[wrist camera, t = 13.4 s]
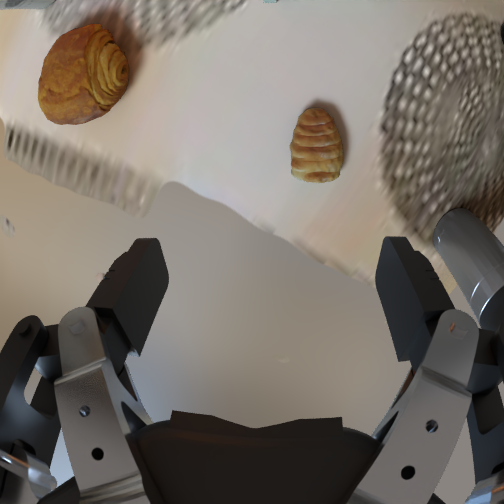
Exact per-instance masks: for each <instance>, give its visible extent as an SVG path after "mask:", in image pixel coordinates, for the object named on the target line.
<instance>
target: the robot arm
mask: <svg viewBox="0 0 504 504" xmlns="http://www.w3.org/2000/svg"><path fill="white" fill-rule="evenodd" d="M433 243H434V246H435V248H436V250H437V251H438V253H439V254H440V256H441V258H442V259H443V261H444V262H445V264H446V266H447V267H448V269H449V270H450V272H451V274H452V275H453V277H454V279H455V280H456V282H457V284H458V285H459V287H460V289H461V291H462V292H463V294H464V296H465V298H466V300H467V301H468V303H469V305H470V306H471V309H472V311H473V312H474V314H475V316H476V318H477V320H478V322H479V324H480V326H481V328H482V329H480V328H478V326H477V324H476V322H475V320H474V319H473V318H472V317H471V316H469V315H468V314H467V313H465V312H463V311H461V310H457V309H455V307H454V305H453V303H452V301H451V300H450V297H449V295H448V294H447V292H446V290H445V288H444V286H443V284H442V282H441V281H440V280H439V277H438V275H437V273H436V272H434V268H433V267H432V265H431V263H430V261H429V260H428V259H427V258H426V257H425V256H424V255H423V254H421V253H420V252H419V251H414V249H413V247H412V246H411V244H410V242H409V241H408V239H407V238H406V237H389V236H387V237H385V238H384V240H383V243H382V248H381V252H380V257H379V261H378V265H377V269H376V276H375V282H376V288H377V291H378V294H379V297H380V300H381V304H382V307H383V310H384V313H385V316H386V319H387V323H388V326H389V329H390V333H391V336H392V340H393V343H394V347H395V350H396V354H397V358H398V361H399V362H400V361H408V360H410V362H411V365H412V367H411V368H410V370H409V372H408V374H407V376H406V378H405V380H404V382H403V384H402V386H401V388H400V390H399V392H398V393H397V395H396V398H395V399H394V401H393V403H392V405H391V406H390V408H389V410H388V412H387V413H386V415H385V416H384V418H383V419H382V421H381V422H380V424H379V425H378V426H377V428H376V429H375V431H374V432H373V434H372V435H371V436H369V435H367V434H365V433H363V432H360V431H358V430H355V429H350V428H347V427H343V425H342V417H336V418H319V419H298V420H294V421H290V422H286V423H282V424H277V425H272V426H268V427H262V428H249V427H246V426H243V425H239V424H235V423H233V422H229V421H227V420H223V419H221V418H218V417H215V416H212V415H203V414H195V413H188V412H181V411H174V410H173V411H172V415H171V418H170V420H166V421H160V422H156V423H153V421H152V420H151V418H150V416H149V415H148V413H147V412H146V410H145V408H144V406H143V404H142V402H141V399H140V397H139V394H138V392H137V389H136V387H135V384H134V382H133V379H132V377H131V374H130V371H129V368H128V366H127V364H126V362H125V360H126V358H127V355H131V356H138V357H140V355H141V352H142V349H143V347H144V344H145V341H146V339H147V336H148V334H149V331H150V329H151V326H152V324H153V321H154V319H155V316H156V314H157V311H158V308H159V306H160V304H161V302H162V299H163V297H164V295H165V292H166V290H167V287H168V283H169V274H168V270H167V267H166V263H165V259H164V256H163V253H162V249H161V246H160V242H159V240H158V239H157V238H139V239H136V240H135V241H134V243H133V245H132V246H131V247H130V249H129V251H128V252H125V253H123V254H122V255H121V256H120V257H119V258H117V259H116V260H115V261H114V263H113V264H112V265H111V267H110V268H109V272H107V273H106V275H105V276H104V279H103V280H102V281H101V282H100V284H99V285H98V287H97V289H96V290H95V292H94V293H93V295H92V297H91V298H90V300H89V301H88V303H87V305H86V306H85V307H78V308H75V309H73V310H71V311H69V312H68V313H67V314H66V315H65V316H64V317H63V318H62V319H61V321H60V323H59V324H56V325H49V326H44V325H43V323H42V322H41V320H40V319H39V318H38V317H37V316H34V315H31V316H27V317H25V318H23V319H22V320H21V321H19V322H18V323H17V325H16V326H15V328H14V329H13V331H12V333H11V334H10V336H9V338H8V339H7V341H6V343H5V345H4V347H3V349H2V350H1V353H0V504H445V503H444V502H443V501H442V500H441V499H440V498H439V497H438V496H436V495H435V494H434V493H433V492H434V490H435V488H436V486H437V484H438V482H439V480H440V479H441V477H442V475H443V472H444V470H445V468H446V466H447V464H448V462H449V459H450V457H451V455H452V452H453V450H454V448H455V446H456V443H457V441H458V438H459V435H460V432H461V430H462V427H463V424H464V422H465V419H466V417H467V422H468V427H469V433H470V439H471V446H472V453H473V461H474V471H475V484H476V486H475V487H474V489H473V491H472V492H471V495H470V496H469V497H468V498H467V499H466V501H465V504H504V407H503V403H502V399H501V396H500V392H499V389H498V385H499V384H500V383H501V382H502V381H503V383H504V246H503V245H502V243H501V242H500V241H499V240H498V239H497V237H496V236H495V235H494V234H493V233H492V232H491V231H490V230H489V228H488V227H487V226H486V225H485V224H484V223H483V222H482V221H481V220H480V219H479V218H478V217H475V216H474V215H473V213H472V212H470V211H469V210H467V209H465V208H457V209H454V210H451V211H450V212H448V213H447V214H446V215H444V216H443V217H442V219H441V220H440V221H439V222H438V224H437V226H436V228H435V231H434V235H433ZM34 368H35V369H36V370H37V371H38V372H39V373H40V374H41V375H42V377H41V379H40V382H39V384H38V386H37V389H36V391H35V394H34V396H33V399H32V401H31V404H30V405H28V404H27V402H26V401H25V398H24V389H25V387H26V385H27V382H28V380H29V378H30V375H31V373H32V371H33V369H34ZM61 427H62V432H63V436H64V440H65V444H66V448H67V452H68V455H69V459H70V462H71V466H72V469H73V472H74V475H75V476H74V477H72V478H71V479H69V480H68V481H66V482H65V483H63V484H62V485H60V486H59V487H57V481H56V479H55V477H54V476H52V475H51V473H50V470H49V469H50V465H51V461H52V458H53V454H54V450H55V446H56V443H57V439H58V436H59V433H60V430H61ZM56 487H57V488H56ZM51 490H52V491H51Z"/></svg>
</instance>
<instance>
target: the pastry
mask: <svg viewBox="0 0 504 504" xmlns="http://www.w3.org/2000/svg"><path fill="white" fill-rule="evenodd" d="M342 149H343V145H342V143H341V138H340V136H339V133H338V130H337V128H336V126H335V123H334V120H333V118H332V117H331V116H330V115H329V114H328V113H327V112H326V111H325V110H324V109H321V108H312V109H307V110H306V111H305V112H303V113H302V114H301V115H300V116H299V118H298V121H297V125H296V127H295V129H294V132H293V139H292V142H291V144H290V150H291V159H292V161H291V166H292V170H291V174H292V176H293V177H295V178H297V179H299V180H303V181H306V182H313V183H324V182H330V181H333V180H335V179H336V178H338V177H339V175H340V169H341V167H342V163H343V152H342Z"/></svg>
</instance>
